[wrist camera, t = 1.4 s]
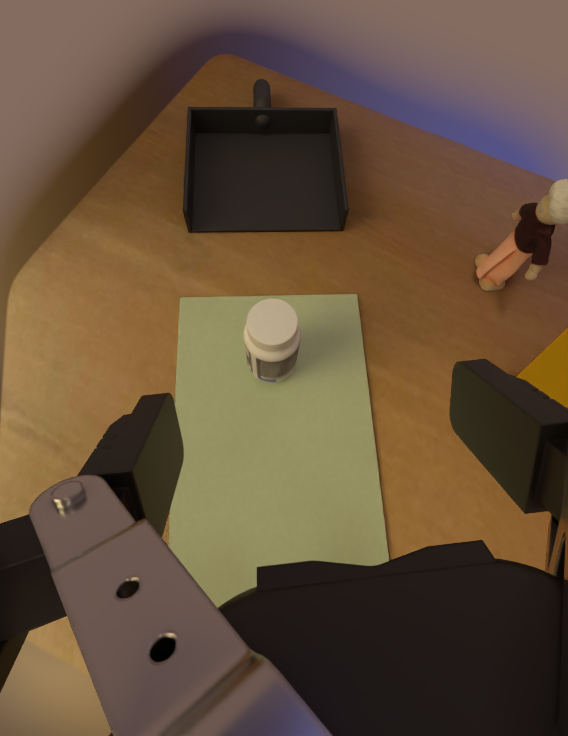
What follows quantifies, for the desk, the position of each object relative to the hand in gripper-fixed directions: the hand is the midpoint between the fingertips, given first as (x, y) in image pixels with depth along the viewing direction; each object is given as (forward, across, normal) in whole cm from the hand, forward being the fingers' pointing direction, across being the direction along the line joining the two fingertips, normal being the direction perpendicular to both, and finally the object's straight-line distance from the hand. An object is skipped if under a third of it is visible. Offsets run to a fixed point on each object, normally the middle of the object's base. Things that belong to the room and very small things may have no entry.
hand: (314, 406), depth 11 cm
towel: (+21, +2, +14) cm, 25 cm away
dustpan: (+43, 0, -10) cm, 44 cm away
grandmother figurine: (+32, -23, +4) cm, 40 cm away
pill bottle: (+26, +1, +9) cm, 27 cm away
